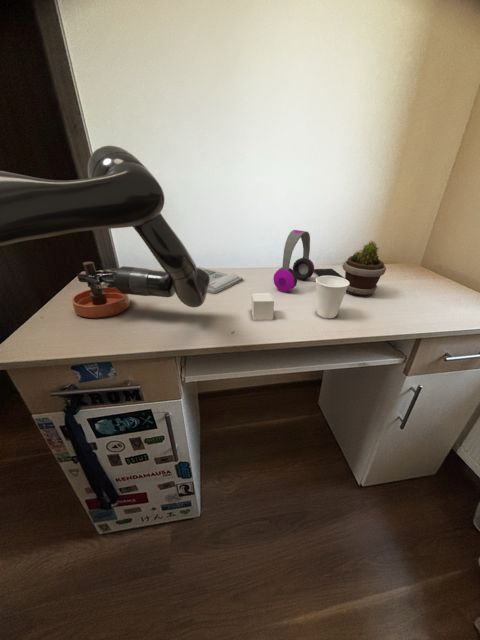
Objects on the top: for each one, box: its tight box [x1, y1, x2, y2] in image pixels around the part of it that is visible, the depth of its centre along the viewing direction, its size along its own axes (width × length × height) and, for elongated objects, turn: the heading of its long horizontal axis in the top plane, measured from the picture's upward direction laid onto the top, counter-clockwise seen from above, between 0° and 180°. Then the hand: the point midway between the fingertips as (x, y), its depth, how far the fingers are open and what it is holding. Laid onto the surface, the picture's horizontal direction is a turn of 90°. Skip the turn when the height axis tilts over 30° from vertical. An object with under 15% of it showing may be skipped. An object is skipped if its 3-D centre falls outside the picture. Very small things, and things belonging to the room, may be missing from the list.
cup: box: [315, 276, 350, 319], centre depth 86 cm, size 10×10×11 cm
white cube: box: [251, 292, 275, 321], centre depth 86 cm, size 6×6×6 cm
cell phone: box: [313, 268, 345, 279], centre depth 119 cm, size 9×18×1 cm, turn 12°
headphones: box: [272, 229, 315, 293], centre depth 105 cm, size 21×9×20 cm, turn 148°
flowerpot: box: [341, 239, 387, 298], centre depth 101 cm, size 14×15×20 cm
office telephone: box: [196, 266, 243, 294], centre depth 109 cm, size 23×3×20 cm
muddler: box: [82, 261, 107, 305], centre depth 81 cm, size 4×4×12 cm
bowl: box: [70, 287, 131, 319], centre depth 86 cm, size 15×15×4 cm
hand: (83, 275), depth 81 cm, fingers closed on muddler, 2 cm apart
